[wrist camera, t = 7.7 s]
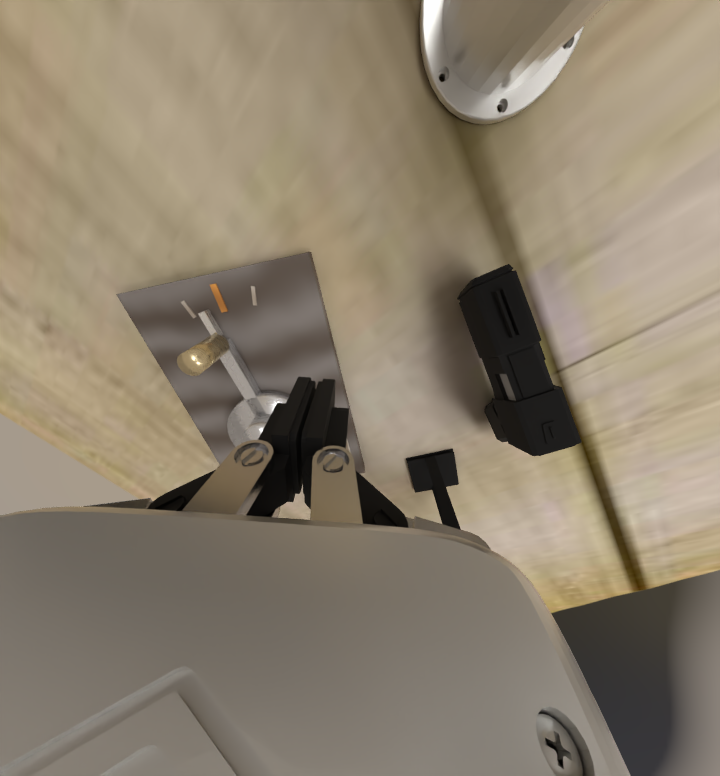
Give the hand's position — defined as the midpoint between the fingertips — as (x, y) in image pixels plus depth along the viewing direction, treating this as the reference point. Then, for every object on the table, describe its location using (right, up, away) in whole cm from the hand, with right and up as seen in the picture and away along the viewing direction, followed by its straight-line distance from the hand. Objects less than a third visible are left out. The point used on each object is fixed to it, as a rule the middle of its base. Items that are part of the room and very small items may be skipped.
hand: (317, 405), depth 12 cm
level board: (-11, 0, +25) cm, 27 cm away
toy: (+18, +5, +22) cm, 29 cm away
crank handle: (-12, 0, +23) cm, 25 cm away
